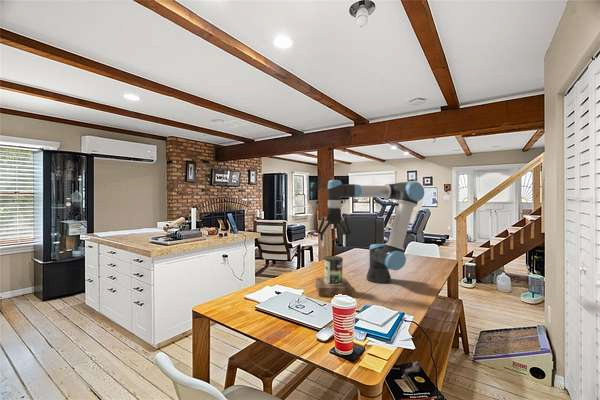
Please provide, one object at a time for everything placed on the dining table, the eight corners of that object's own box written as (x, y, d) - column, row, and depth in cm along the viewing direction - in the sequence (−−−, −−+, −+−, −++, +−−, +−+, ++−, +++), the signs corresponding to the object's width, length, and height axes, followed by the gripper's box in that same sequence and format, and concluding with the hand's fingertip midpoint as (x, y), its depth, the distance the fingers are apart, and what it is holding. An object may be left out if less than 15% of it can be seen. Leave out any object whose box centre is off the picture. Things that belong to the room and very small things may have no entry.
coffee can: (345, 282, 160) (345, 257, 160) (337, 286, 151) (338, 260, 151) (329, 279, 166) (329, 255, 165) (320, 283, 157) (321, 258, 157)
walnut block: (345, 285, 168) (345, 278, 168) (352, 296, 150) (352, 287, 150) (315, 285, 167) (315, 278, 167) (318, 296, 149) (319, 287, 149)
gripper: (353, 207, 163) (352, 245, 163) (312, 207, 161) (312, 245, 162) (356, 208, 155) (356, 247, 155) (313, 207, 154) (313, 247, 154)
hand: (333, 246), depth 158 cm, fingers open, 11 cm apart
